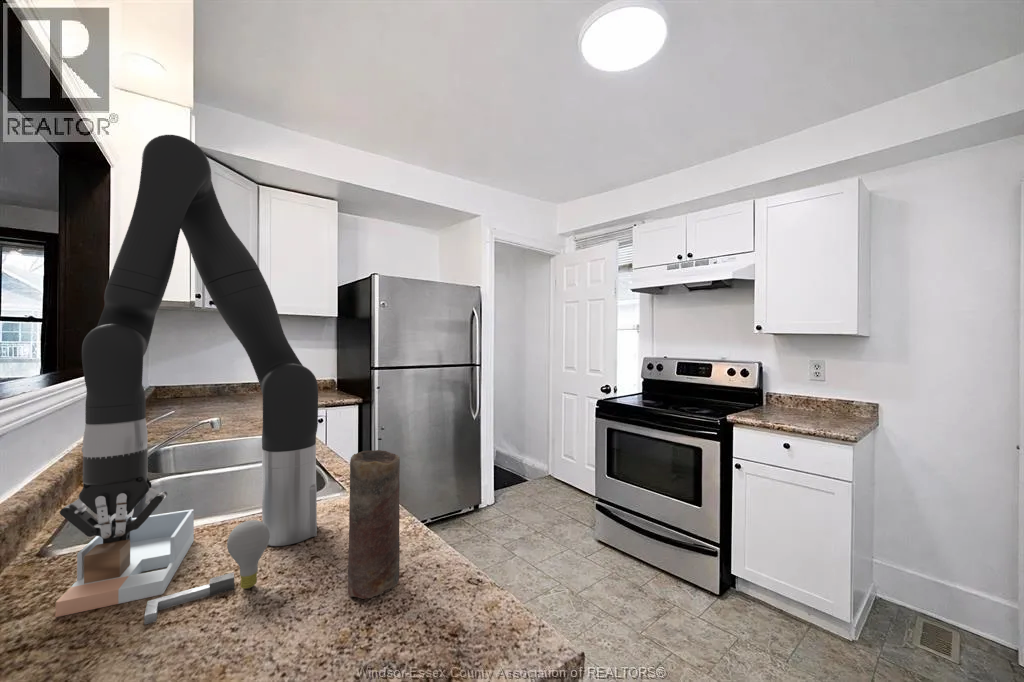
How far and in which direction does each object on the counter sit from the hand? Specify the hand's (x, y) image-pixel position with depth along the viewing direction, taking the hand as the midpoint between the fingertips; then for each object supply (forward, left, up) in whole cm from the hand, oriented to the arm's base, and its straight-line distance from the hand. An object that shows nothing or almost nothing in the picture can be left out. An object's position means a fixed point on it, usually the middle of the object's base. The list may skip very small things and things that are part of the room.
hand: (116, 558), depth 67 cm
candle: (-36, +22, -3) cm, 43 cm away
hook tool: (-13, +14, -3) cm, 19 cm away
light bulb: (-19, +13, -3) cm, 24 cm away
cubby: (-2, 0, -3) cm, 4 cm away
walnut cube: (0, +3, -1) cm, 3 cm away
